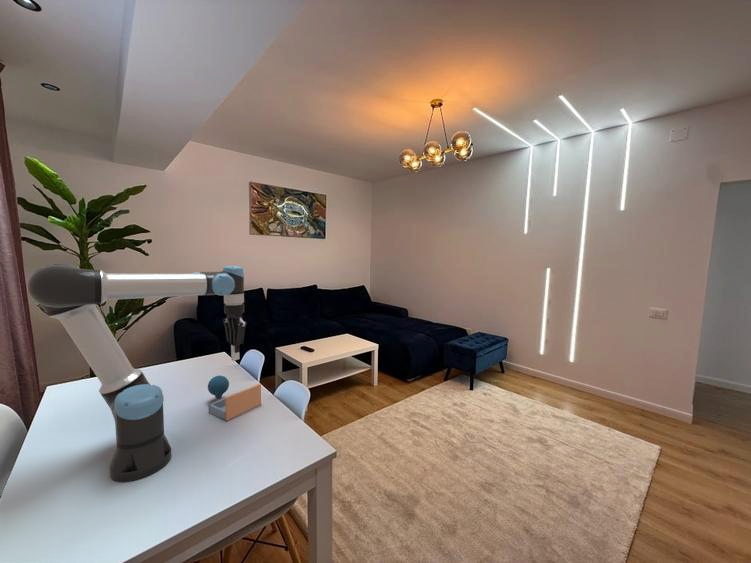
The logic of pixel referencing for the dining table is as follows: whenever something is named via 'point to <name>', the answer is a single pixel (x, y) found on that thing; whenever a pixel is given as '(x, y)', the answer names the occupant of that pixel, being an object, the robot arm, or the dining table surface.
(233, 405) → the panel
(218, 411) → the blue-grey shallow rectangular box
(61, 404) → the dining table surface
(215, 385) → the light bulb
